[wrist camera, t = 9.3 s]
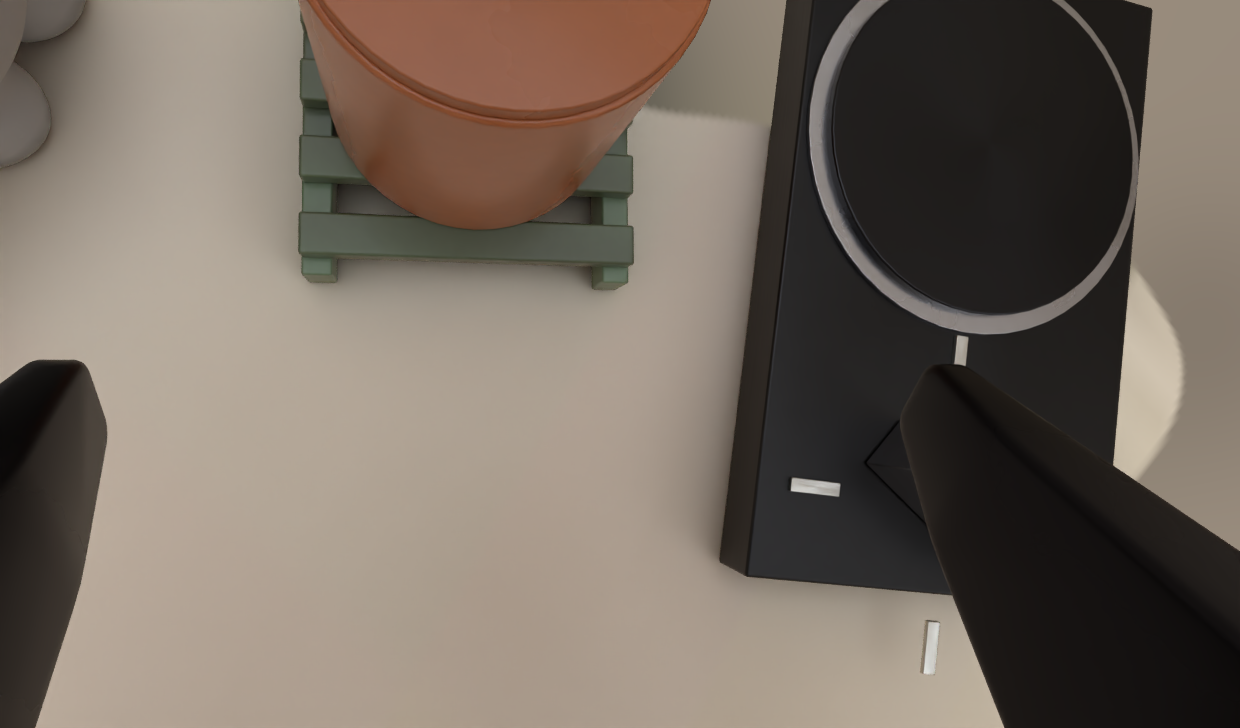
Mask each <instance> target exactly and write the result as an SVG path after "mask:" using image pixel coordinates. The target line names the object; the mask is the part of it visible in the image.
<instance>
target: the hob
mask: <svg viewBox="0 0 1240 728" xmlns="http://www.w3.org/2000/svg"><path fill="white" fill-rule="evenodd" d="M858 1H859V0H787V1H786V9H785V18H784V26H783V34H782V43H781V51H780V59H779V68H778V77H777V85H776V93H775V101H774V110H773V118H772V126H771V135H770V143H769V151H768V160H767V168H766V176H765V185H764V193H763V202H762V210H761V218H760V227H759V235H758V243H757V252H756V260H755V268H754V277H753V285H752V293H751V302H750V310H749V319H748V327H747V335H746V344H745V352H744V360H743V369H742V377H741V385H740V394H739V402H738V411H737V419H736V427H735V436H734V444H733V452H732V461H731V469H730V477H729V486H728V494H727V502H726V511H725V519H724V528H723V536H722V544H721V553H720V562H721V563H722V564H724V565H726V566H728V567H730V568H732V569H734V570H735V571H737V572H739V573H741V574H743V575H745V576H747V577H756V578H767V579H777V580H788V581H799V582H810V583H821V584H832V585H843V586H854V587H865V588H876V589H887V590H898V591H909V592H920V593H931V594H942V595H952V593H951V591H950V588H949V586H948V583H947V581H946V578H945V576H944V573H943V570H942V568H941V565H940V563H939V560H938V558H937V555H936V552H935V549H934V547H933V544H932V541H931V538H930V535H929V532H928V528H927V525H926V523H925V522H924V521H923V520H922V519H921V518H920V517H919V516H918V515H917V514H916V513H915V512H914V511H913V510H912V509H911V508H910V507H909V506H908V505H907V504H906V503H905V502H904V501H903V500H902V499H901V498H900V497H899V496H898V495H897V494H896V493H895V492H894V491H893V490H892V489H891V488H890V487H889V486H888V485H887V484H886V483H885V482H884V481H883V480H882V479H881V478H880V477H879V476H878V475H877V474H876V473H875V472H874V471H873V470H872V469H871V468H870V467H869V466H868V464H867V461H868V460H869V459H870V458H871V456H872V455H873V454H874V453H875V451H876V450H877V449H878V448H879V446H880V445H881V444H882V443H883V441H884V440H885V439H886V438H887V436H888V435H889V434H890V433H891V432H892V430H893V429H894V428H895V427H896V425H897V424H898V423H899V422H900V417H901V413H902V410H903V408H904V406H905V404H906V402H907V401H908V399H909V397H910V395H911V393H912V391H913V390H914V388H915V386H916V384H917V382H918V380H919V379H920V377H921V375H922V373H923V372H924V370H925V369H926V368H928V367H929V366H930V365H934V364H960V365H964V366H966V367H968V368H970V369H971V370H973V371H974V372H976V373H977V374H979V375H980V376H981V377H983V378H984V379H986V380H987V381H989V382H990V383H992V384H993V385H995V386H996V387H998V388H999V389H1001V390H1002V391H1004V392H1005V393H1007V394H1008V395H1010V396H1011V397H1012V398H1014V399H1015V400H1017V401H1018V402H1020V403H1021V404H1023V405H1024V406H1026V407H1027V408H1029V409H1030V410H1032V411H1033V412H1035V413H1036V414H1038V415H1039V416H1041V417H1042V418H1044V419H1045V420H1046V421H1048V422H1049V423H1051V424H1052V425H1054V426H1055V427H1057V428H1058V429H1060V430H1061V431H1063V432H1064V433H1066V434H1067V435H1069V436H1070V437H1072V438H1073V439H1075V440H1076V441H1077V442H1079V443H1080V444H1082V445H1083V446H1085V447H1086V448H1088V449H1089V450H1091V451H1092V452H1094V453H1095V454H1097V455H1098V456H1100V457H1101V458H1103V459H1104V460H1106V461H1107V462H1109V463H1110V464H1111V465H1113V460H1114V449H1115V437H1116V426H1117V414H1118V402H1119V391H1120V379H1121V368H1122V356H1123V345H1124V333H1125V322H1126V310H1127V298H1128V287H1129V275H1130V264H1131V252H1132V240H1133V228H1134V216H1135V206H1136V199H1135V205H1134V209H1133V213H1132V217H1131V220H1130V224H1129V227H1128V230H1127V232H1126V235H1125V237H1124V240H1123V242H1122V245H1121V247H1120V249H1119V251H1118V253H1117V255H1116V256H1115V258H1114V260H1113V262H1112V264H1111V265H1110V267H1109V268H1108V270H1107V271H1106V272H1105V274H1104V275H1103V276H1102V278H1101V279H1100V280H1099V282H1098V283H1097V284H1096V285H1095V286H1094V287H1093V288H1092V289H1091V290H1090V291H1089V292H1088V293H1087V294H1086V296H1085V297H1084V298H1083V299H1081V300H1080V301H1079V302H1077V303H1076V304H1075V305H1073V306H1072V307H1071V308H1070V309H1068V310H1067V311H1066V312H1064V313H1062V314H1060V315H1059V316H1057V317H1055V318H1053V319H1051V320H1050V321H1048V322H1045V323H1043V324H1040V325H1037V326H1035V327H1032V328H1029V329H1026V330H1021V331H1016V332H1011V333H1006V334H989V335H978V334H968V333H960V332H956V331H952V330H948V329H944V328H939V327H937V326H934V325H932V324H929V323H927V322H924V321H922V320H920V319H917V318H915V317H914V316H912V315H910V314H909V313H907V312H905V311H903V310H902V309H900V308H898V307H897V306H895V305H894V304H893V303H891V302H890V301H889V300H887V299H886V298H885V297H884V296H882V295H881V294H880V293H878V292H877V291H876V290H875V289H874V288H873V287H872V286H871V285H870V284H869V283H868V282H867V281H866V280H865V279H864V278H863V277H862V276H861V275H860V274H859V272H858V271H857V270H856V269H855V267H854V266H853V265H852V263H851V262H850V261H849V260H848V258H847V257H846V256H845V254H844V253H843V251H842V249H841V248H840V246H839V244H838V243H837V241H836V239H835V238H834V236H833V234H832V233H831V231H830V228H829V226H828V224H827V222H826V220H825V217H824V215H823V213H822V211H821V208H820V205H819V202H818V199H817V195H816V192H815V189H814V186H813V182H812V176H811V171H810V166H809V161H808V149H807V134H806V132H807V113H808V104H809V98H810V93H811V87H812V82H813V79H814V76H815V73H816V70H817V67H818V63H819V60H820V58H821V56H822V54H823V52H824V50H825V47H826V45H827V43H828V41H829V39H830V37H831V36H832V34H833V33H834V31H835V30H836V28H837V27H838V25H839V24H840V22H841V21H842V19H843V18H844V17H845V16H846V15H847V13H848V12H849V11H850V10H851V9H852V8H853V7H854V6H855V4H856V3H857V2H858ZM1064 1H1065V2H1066V3H1067V4H1068V5H1070V6H1071V7H1072V8H1073V9H1074V10H1075V11H1076V12H1077V13H1078V14H1079V15H1080V16H1081V17H1082V18H1083V20H1084V21H1085V22H1086V23H1087V24H1088V25H1089V26H1090V27H1091V29H1092V30H1093V31H1094V33H1095V34H1096V36H1097V37H1098V38H1099V40H1100V41H1101V43H1102V44H1103V46H1104V47H1105V48H1106V50H1107V52H1108V54H1109V56H1110V58H1111V59H1112V61H1113V63H1114V65H1115V67H1116V68H1117V71H1118V73H1119V76H1120V78H1121V80H1122V83H1123V85H1124V87H1125V90H1126V93H1127V96H1128V100H1129V103H1130V106H1131V110H1132V113H1133V118H1134V124H1135V129H1136V134H1137V145H1138V158H1139V160H1140V148H1141V137H1142V125H1143V114H1144V102H1145V90H1146V79H1147V67H1148V55H1149V44H1150V32H1151V21H1152V9H1151V8H1148V7H1145V6H1142V5H1138V4H1135V3H1132V2H1128V1H1125V0H1064ZM1138 170H1139V162H1138ZM1136 194H1137V192H1136ZM939 627H940V622H938V621H931V620H925V629H924V638H923V648H922V658H921V668H920V673H922V674H929V675H935V667H936V657H937V647H938V637H939Z"/></svg>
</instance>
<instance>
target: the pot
mask: <svg viewBox="0 0 1240 728" xmlns="http://www.w3.org/2000/svg"><path fill="white" fill-rule="evenodd" d="M710 1H711V0H298V2H299V6H300V9H301V13H302V16H303V20H304V23H305V27H306V30H307V34H308V37H309V41H310V44H311V48H312V51H313V54H314V58H315V61H316V65H317V68H318V72H319V75H320V79H321V82H322V86H323V89H324V93H325V96H326V100H327V103H328V107H329V110H330V114H331V117H332V120H333V123H334V126H335V129H336V131H337V134H338V136H339V138H340V140H341V142H342V144H343V146H344V148H345V150H346V152H347V154H348V155H349V157H350V158H351V160H352V161H353V163H354V164H355V166H356V167H357V169H358V170H359V171H360V172H361V173H362V174H363V175H364V177H365V178H366V179H367V180H368V181H369V182H370V183H371V184H372V185H373V186H374V187H375V188H376V189H377V190H378V191H380V192H381V193H382V194H383V195H384V196H385V197H387V198H388V199H390V200H391V201H392V202H394V203H395V204H397V205H398V206H400V207H401V208H403V209H405V210H407V211H409V212H411V213H413V214H415V215H417V216H418V217H421V218H424V219H426V220H429V221H432V222H435V223H437V224H442V225H446V226H450V227H454V228H463V229H472V230H484V229H498V228H504V227H511V226H514V225H518V224H521V223H524V222H528V221H530V220H532V219H535V218H537V217H539V216H541V215H544V214H545V213H547V212H549V211H550V210H552V209H553V208H555V207H557V206H558V205H560V204H561V203H562V202H563V201H565V200H566V199H567V198H568V197H569V196H571V195H572V194H573V193H574V192H575V191H576V190H577V188H578V187H579V186H580V185H581V184H582V183H583V182H584V181H585V179H586V178H587V177H588V176H589V174H590V173H591V172H592V170H593V169H594V168H595V167H596V165H597V164H598V163H599V162H600V160H601V159H602V158H603V156H604V155H605V154H606V153H607V151H608V150H609V149H610V147H611V146H612V145H613V144H614V142H615V141H616V140H617V139H618V137H619V136H620V135H621V133H622V132H623V131H624V130H625V128H626V127H627V126H628V125H629V123H630V122H631V121H632V119H633V118H634V117H635V116H636V114H637V113H638V112H639V111H640V109H641V108H642V107H643V105H644V104H645V103H646V102H647V100H648V99H649V97H651V95H652V94H653V93H654V91H655V90H656V89H657V88H658V86H659V85H660V84H661V82H662V81H663V80H664V78H665V77H666V76H667V75H668V74H669V72H670V71H671V70H672V68H673V67H674V65H676V63H677V62H678V61H679V59H680V58H681V57H682V55H683V54H684V52H685V51H686V49H687V48H688V47H689V45H690V44H691V42H692V40H693V39H694V38H695V36H696V34H697V32H698V30H699V27H700V26H701V24H702V22H703V20H704V18H705V16H706V14H707V10H708V7H709V4H710Z"/></svg>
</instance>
